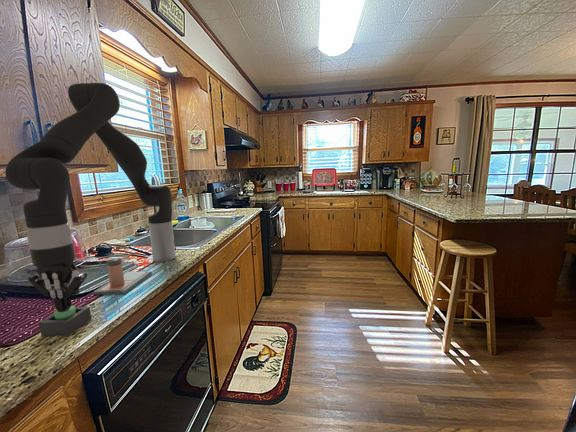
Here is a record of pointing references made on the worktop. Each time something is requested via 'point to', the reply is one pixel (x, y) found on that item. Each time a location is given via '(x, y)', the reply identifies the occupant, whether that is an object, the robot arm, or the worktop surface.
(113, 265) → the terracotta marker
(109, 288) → the picture board
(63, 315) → the button
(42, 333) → the button housing
